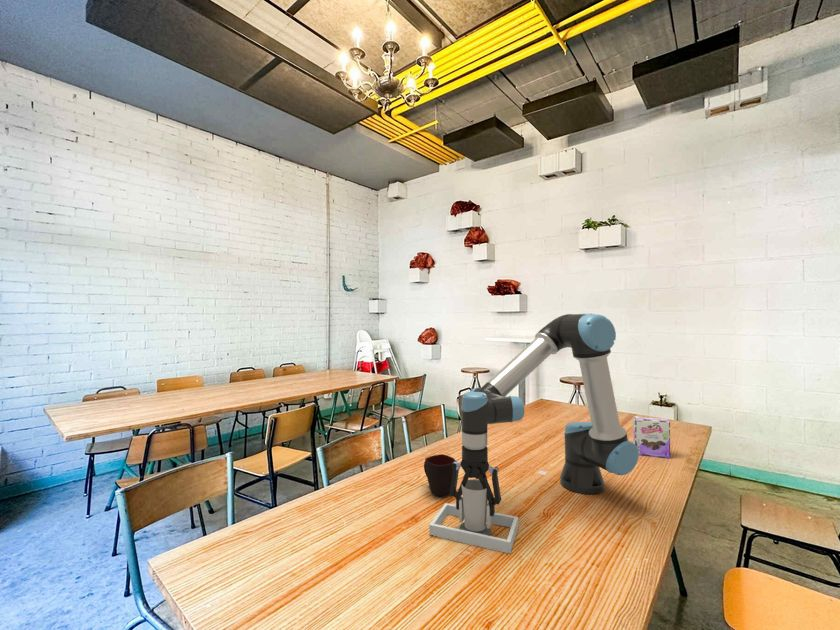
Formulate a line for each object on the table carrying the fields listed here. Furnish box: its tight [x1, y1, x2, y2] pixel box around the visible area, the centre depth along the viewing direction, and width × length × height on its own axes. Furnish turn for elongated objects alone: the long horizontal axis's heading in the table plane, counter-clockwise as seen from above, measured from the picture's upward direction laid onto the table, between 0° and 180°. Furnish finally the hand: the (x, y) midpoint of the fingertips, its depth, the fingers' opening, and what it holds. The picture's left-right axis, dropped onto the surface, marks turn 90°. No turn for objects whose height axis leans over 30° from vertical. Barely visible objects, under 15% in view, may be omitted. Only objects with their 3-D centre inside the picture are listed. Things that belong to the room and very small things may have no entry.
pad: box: [459, 521, 492, 536], centre depth 114 cm, size 9×9×1 cm
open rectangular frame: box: [428, 502, 519, 555], centre depth 113 cm, size 23×14×3 cm, turn 67°
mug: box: [423, 454, 457, 499], centre depth 139 cm, size 10×14×12 cm
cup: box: [460, 478, 488, 532], centre depth 114 cm, size 8×8×12 cm
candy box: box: [632, 415, 671, 459], centre depth 175 cm, size 14×6×16 cm, turn 68°
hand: (475, 523), depth 114 cm, fingers open, 7 cm apart
